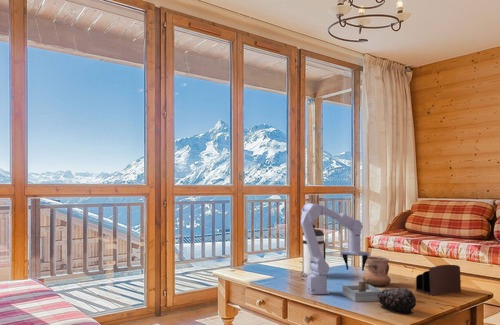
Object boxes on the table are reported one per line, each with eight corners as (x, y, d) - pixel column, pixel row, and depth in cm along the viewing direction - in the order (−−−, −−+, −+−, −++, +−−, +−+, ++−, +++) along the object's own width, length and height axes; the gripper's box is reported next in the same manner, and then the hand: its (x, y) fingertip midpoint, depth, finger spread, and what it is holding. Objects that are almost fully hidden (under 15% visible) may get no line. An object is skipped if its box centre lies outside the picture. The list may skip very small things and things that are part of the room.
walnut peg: (360, 298, 198) (360, 283, 198) (357, 296, 201) (357, 281, 201) (366, 298, 198) (366, 282, 198) (364, 296, 201) (364, 281, 202)
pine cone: (383, 303, 189) (382, 280, 189) (420, 312, 175) (420, 288, 176) (369, 307, 182) (369, 284, 183) (407, 317, 168) (407, 292, 169)
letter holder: (461, 292, 210) (460, 263, 211) (430, 296, 203) (430, 266, 203) (445, 288, 219) (444, 260, 220) (415, 291, 212) (415, 263, 213)
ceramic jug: (375, 289, 215) (375, 261, 216) (355, 283, 228) (355, 256, 229) (399, 286, 224) (399, 259, 225) (378, 280, 237) (378, 254, 238)
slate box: (355, 301, 191) (355, 292, 192) (342, 294, 205) (342, 285, 205) (383, 300, 194) (383, 291, 194) (369, 292, 208) (369, 284, 208)
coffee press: (330, 279, 238) (329, 225, 240) (301, 278, 239) (301, 225, 241) (325, 273, 256) (325, 223, 258) (299, 272, 256) (298, 223, 258)
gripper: (340, 243, 213) (340, 270, 212) (369, 244, 210) (370, 272, 209) (340, 241, 220) (340, 268, 219) (369, 242, 217) (369, 269, 216)
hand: (355, 270), depth 214 cm, fingers open, 7 cm apart
